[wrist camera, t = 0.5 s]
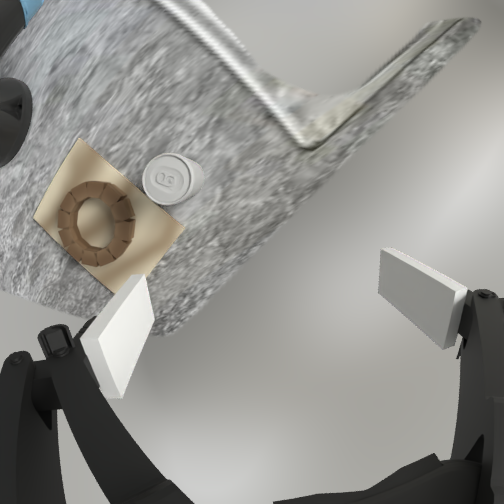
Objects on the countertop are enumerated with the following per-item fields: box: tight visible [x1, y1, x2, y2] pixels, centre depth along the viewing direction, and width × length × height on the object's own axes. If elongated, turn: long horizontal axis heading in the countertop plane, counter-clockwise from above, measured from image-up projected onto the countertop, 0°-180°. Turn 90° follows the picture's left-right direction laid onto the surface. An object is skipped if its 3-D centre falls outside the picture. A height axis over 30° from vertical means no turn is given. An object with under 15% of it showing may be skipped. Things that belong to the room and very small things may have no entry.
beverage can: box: [142, 153, 205, 206], centre depth 30 cm, size 5×5×12 cm
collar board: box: [33, 138, 185, 294], centre depth 34 cm, size 20×14×3 cm
